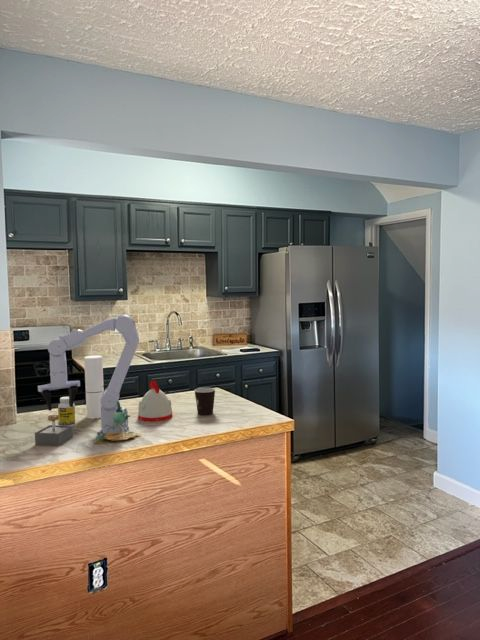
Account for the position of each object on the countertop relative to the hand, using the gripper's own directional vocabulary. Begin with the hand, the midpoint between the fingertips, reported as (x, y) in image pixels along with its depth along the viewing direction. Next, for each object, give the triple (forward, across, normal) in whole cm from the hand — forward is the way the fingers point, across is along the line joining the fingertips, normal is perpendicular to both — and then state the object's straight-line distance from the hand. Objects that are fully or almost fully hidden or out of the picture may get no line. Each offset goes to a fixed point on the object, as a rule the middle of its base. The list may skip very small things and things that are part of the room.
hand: (60, 408), depth 179 cm
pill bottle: (+10, -4, -9) cm, 14 cm away
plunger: (+7, +4, +6) cm, 10 cm away
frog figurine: (+10, -15, +17) cm, 25 cm away
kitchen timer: (+10, -38, +1) cm, 39 cm away
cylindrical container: (+10, -18, -15) cm, 26 cm away
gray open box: (+10, +4, +6) cm, 12 cm away
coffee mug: (+10, -57, +8) cm, 59 cm away
